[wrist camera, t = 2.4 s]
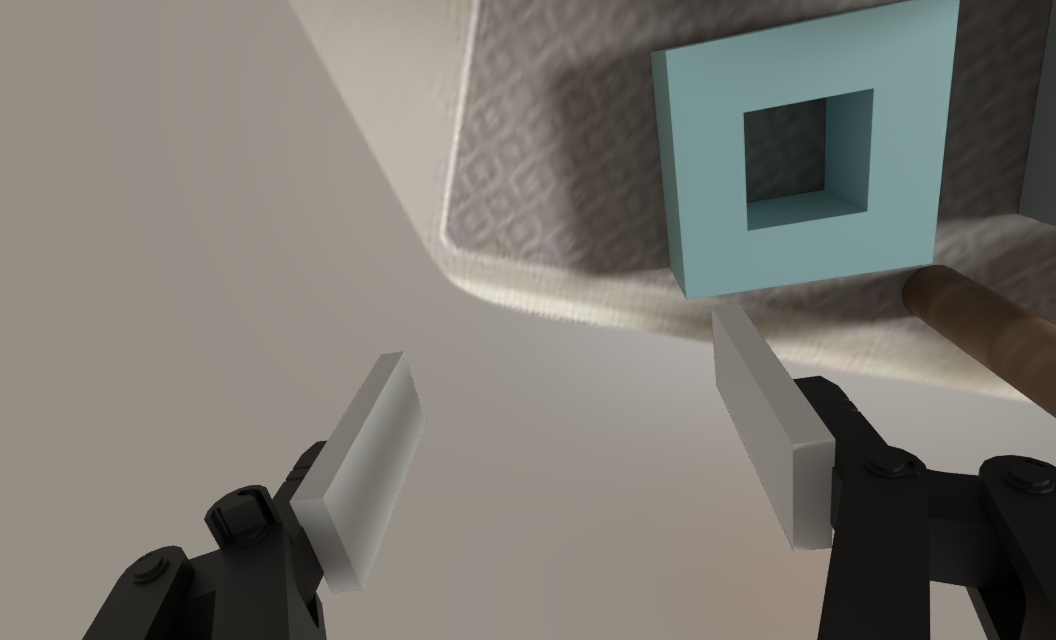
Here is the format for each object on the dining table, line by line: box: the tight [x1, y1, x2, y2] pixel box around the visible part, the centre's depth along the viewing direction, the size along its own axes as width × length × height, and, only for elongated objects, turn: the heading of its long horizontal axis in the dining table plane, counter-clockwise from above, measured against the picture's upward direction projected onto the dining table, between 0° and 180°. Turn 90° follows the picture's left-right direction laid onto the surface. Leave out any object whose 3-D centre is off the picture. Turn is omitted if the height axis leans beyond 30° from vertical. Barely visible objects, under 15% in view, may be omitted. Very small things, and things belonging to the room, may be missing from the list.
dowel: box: [902, 265, 1056, 418], centre depth 27 cm, size 3×3×15 cm
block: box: [650, 0, 960, 300], centre depth 29 cm, size 12×12×5 cm
